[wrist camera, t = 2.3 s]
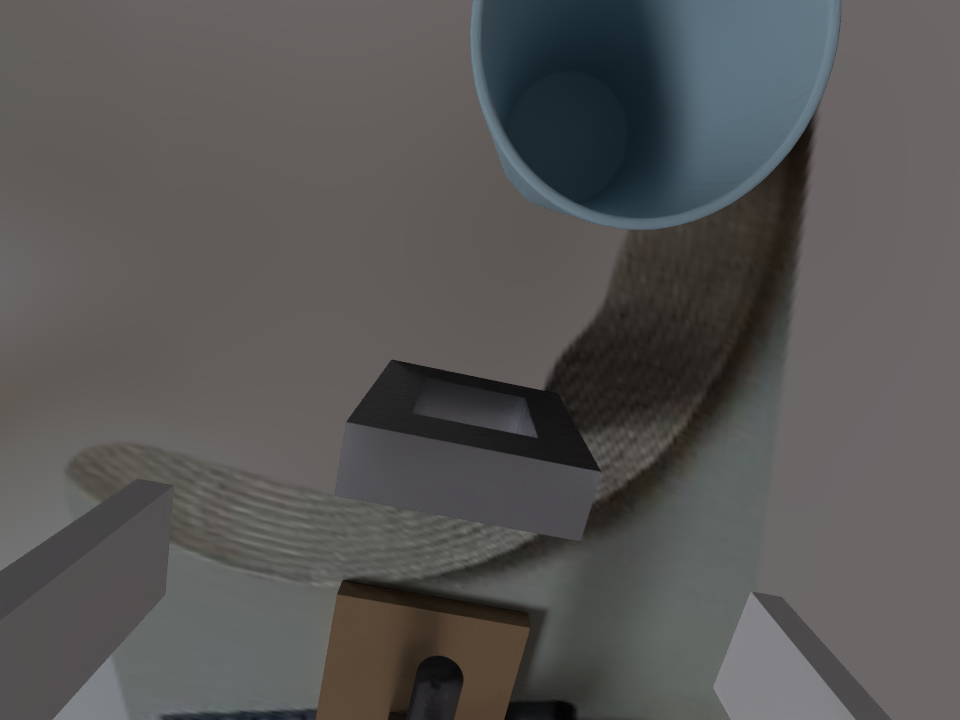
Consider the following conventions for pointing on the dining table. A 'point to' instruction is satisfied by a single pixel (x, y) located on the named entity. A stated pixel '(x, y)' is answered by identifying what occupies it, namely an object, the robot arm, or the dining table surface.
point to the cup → (648, 99)
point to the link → (468, 452)
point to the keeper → (419, 657)
